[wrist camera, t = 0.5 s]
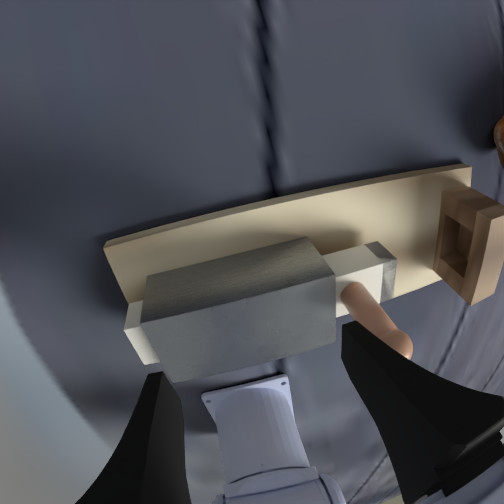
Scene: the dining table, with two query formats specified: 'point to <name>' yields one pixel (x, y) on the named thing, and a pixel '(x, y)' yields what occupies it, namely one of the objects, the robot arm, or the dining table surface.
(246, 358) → the grey rectangular sleeve
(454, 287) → the socket block
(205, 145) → the dining table surface
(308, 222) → the base board
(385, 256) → the white bar
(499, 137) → the tin
